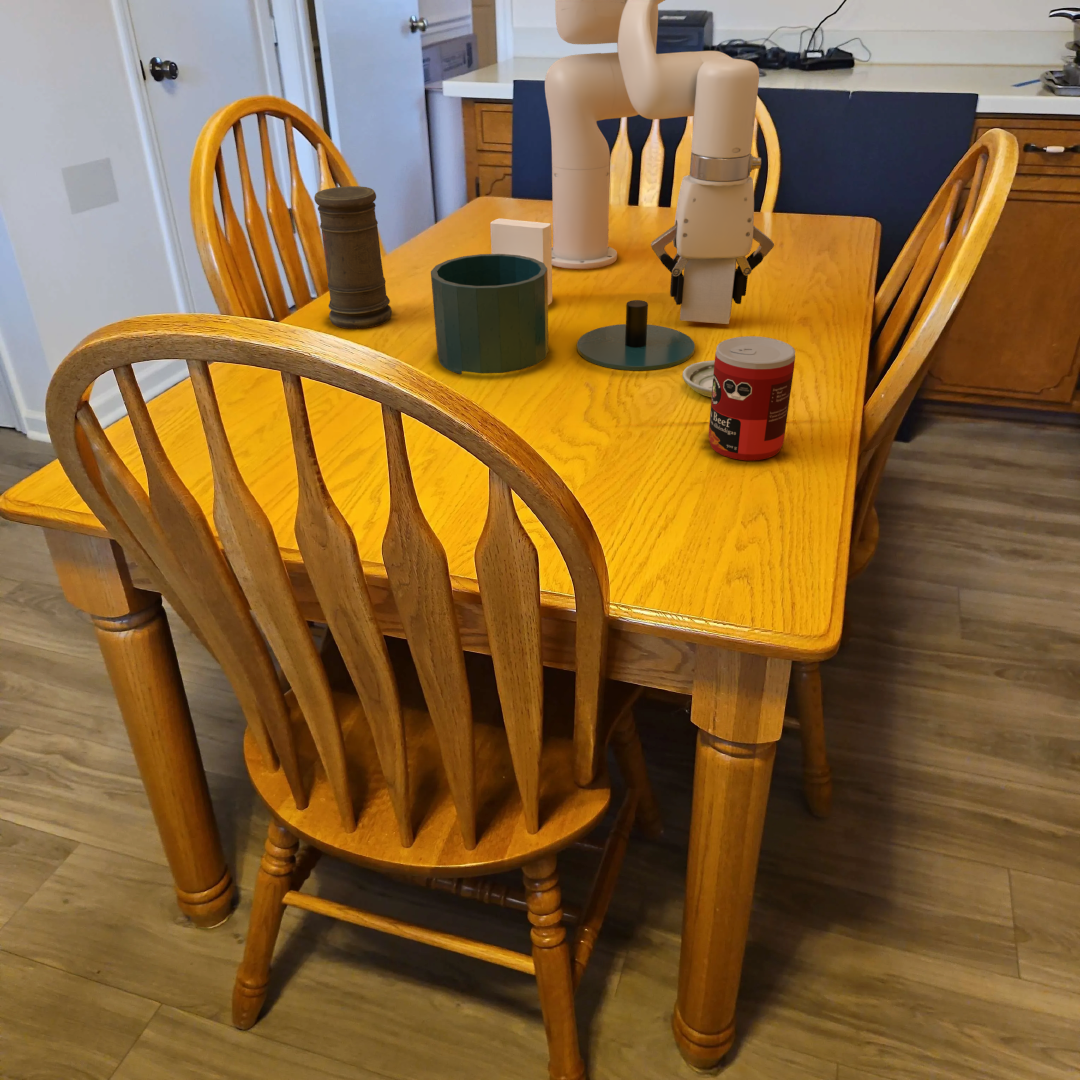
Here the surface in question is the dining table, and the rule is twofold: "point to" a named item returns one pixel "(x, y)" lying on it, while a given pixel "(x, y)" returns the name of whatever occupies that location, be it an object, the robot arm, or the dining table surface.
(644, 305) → the lid
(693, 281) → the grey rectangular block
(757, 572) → the dining table surface
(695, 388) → the saucer
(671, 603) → the dining table surface
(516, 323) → the pot
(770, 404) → the canned food
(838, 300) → the dining table surface
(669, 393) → the dining table surface
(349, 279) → the container
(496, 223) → the base with upright slab
